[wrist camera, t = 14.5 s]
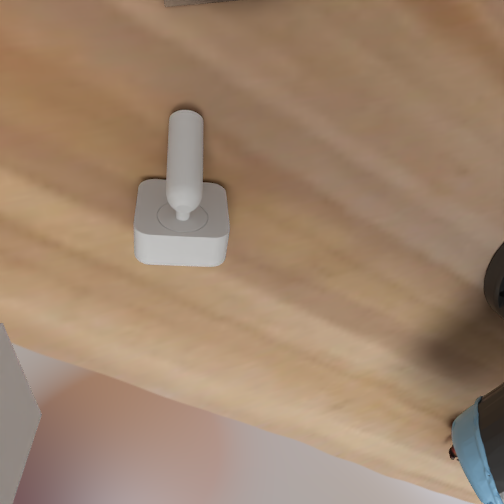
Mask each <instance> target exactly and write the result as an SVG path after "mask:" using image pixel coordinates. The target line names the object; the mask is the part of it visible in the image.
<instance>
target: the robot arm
mask: <svg viewBox="0 0 504 504" xmlns="http://www.w3.org/2000/svg"><path fill="white" fill-rule="evenodd" d="M484 290H485V296H486V299H487V302H488V303H489V305H490V307H491V308H492V309H493V310H494V311H495V312H496V313H497V314H498V315H499V316H500V317H501V318H502V319H503V320H504V244H503V245H502V246H501V248H500V249H499V250H498V251H497V253H496V254H495V256H494V258H493V259H492V261H491V263H490V265H489V267H488V270H487V273H486V277H485V284H484ZM41 415H42V414H41V411H40V409H39V407H38V405H37V402H36V400H35V397H34V395H33V393H32V390H31V388H30V386H29V384H28V381H27V379H26V376H25V374H24V372H23V369H22V367H21V365H20V362H19V360H18V358H17V355H16V353H15V351H14V348H13V346H12V344H11V341H10V339H9V337H8V334H7V332H6V330H5V327H4V325H3V323H0V504H13V500H14V498H15V494H16V491H17V488H18V485H19V482H20V479H21V476H22V473H23V470H24V467H25V464H26V461H27V457H28V455H29V452H30V449H31V446H32V442H33V439H34V436H35V433H36V430H37V427H38V424H39V421H40V418H41ZM452 442H453V446H454V449H455V452H456V455H457V457H458V460H459V462H460V464H461V466H462V468H463V471H464V473H465V475H466V476H467V478H468V480H469V482H470V484H471V486H472V488H473V489H474V491H475V493H476V494H477V496H478V498H479V499H480V501H481V502H483V503H484V504H504V383H503V384H501V385H500V386H498V387H497V388H495V389H494V390H492V391H491V392H489V393H488V394H486V395H485V396H480V397H479V398H477V400H476V401H475V403H474V404H473V405H472V406H471V407H469V408H468V409H467V410H465V411H464V412H463V413H461V414H460V415H459V416H458V417H457V418H456V419H455V420H454V422H453V425H452Z"/></svg>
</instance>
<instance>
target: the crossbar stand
mask: <svg viewBox="0 0 504 504" xmlns="http://www.w3.org/2000/svg"><path fill="white" fill-rule="evenodd" d="M225 1H236V0H164V4H165V7H169V6H180V5H191V4H203V3H214V2H225Z"/></svg>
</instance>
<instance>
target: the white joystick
mask: <svg viewBox="0 0 504 504" xmlns="http://www.w3.org/2000/svg"><path fill="white" fill-rule="evenodd" d="M229 232H230V224H229V214H228V205H227V196H226V191H225V189H224V188H223V187H222V186H220V185H218V184H215V183H206V182H203V118H202V117H201V116H200V115H199V114H198V113H196V112H194V111H190V110H179V111H176V112H174V113H173V114H172V115H171V116H170V118H169V134H168V155H167V176H166V180H162V179H149V180H145V181H143V182H141V183H140V185H139V188H138V195H137V202H136V210H135V217H134V253H135V257H136V258H137V259H138V260H139V261H140V262H142V263H144V264H149V265H176V266H205V267H214V266H218V265H220V264H222V263H223V262H224V260H225V257H226V251H227V245H228V238H229Z"/></svg>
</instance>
